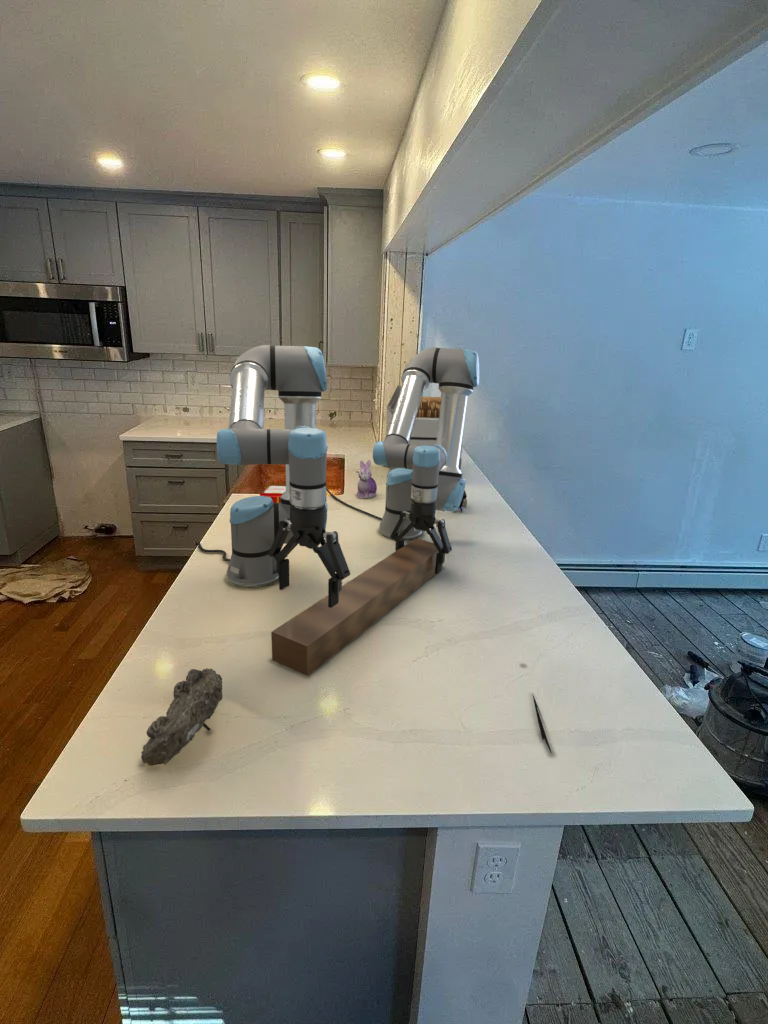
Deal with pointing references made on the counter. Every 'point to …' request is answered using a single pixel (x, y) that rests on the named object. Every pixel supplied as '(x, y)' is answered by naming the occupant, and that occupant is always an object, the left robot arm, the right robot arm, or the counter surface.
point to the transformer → (421, 421)
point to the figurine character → (463, 501)
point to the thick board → (352, 608)
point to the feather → (541, 724)
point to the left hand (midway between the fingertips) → (308, 596)
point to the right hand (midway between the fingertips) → (418, 567)
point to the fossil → (183, 716)
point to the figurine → (366, 481)
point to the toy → (274, 493)
